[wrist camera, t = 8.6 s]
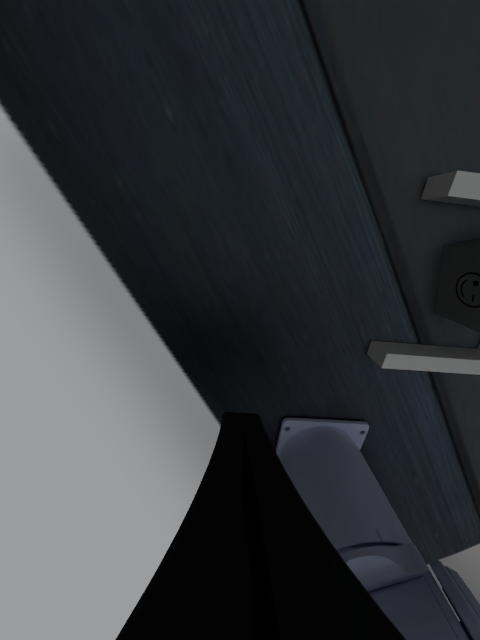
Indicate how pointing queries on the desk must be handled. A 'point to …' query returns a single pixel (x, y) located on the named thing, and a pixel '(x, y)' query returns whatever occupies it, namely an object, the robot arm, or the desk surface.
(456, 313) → the dice cube
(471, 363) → the grey angular bar shape
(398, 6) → the desk surface
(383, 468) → the desk surface
